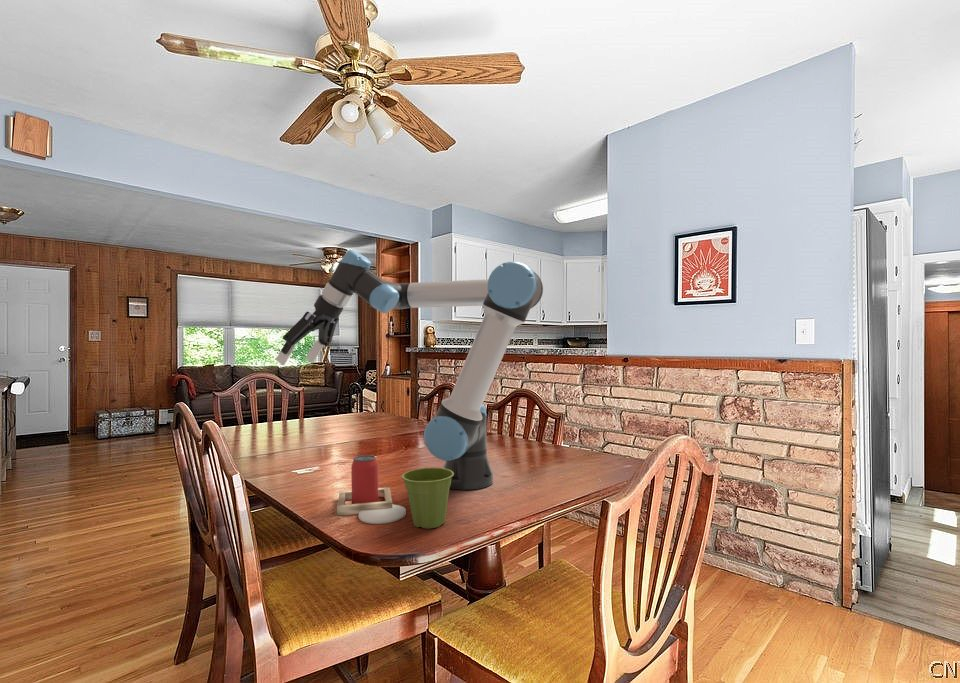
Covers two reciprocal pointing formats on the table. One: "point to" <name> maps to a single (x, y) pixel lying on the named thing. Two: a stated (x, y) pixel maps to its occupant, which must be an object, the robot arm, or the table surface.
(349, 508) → the frame
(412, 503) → the plant pot
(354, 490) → the beer can
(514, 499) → the table surface
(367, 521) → the white plate
